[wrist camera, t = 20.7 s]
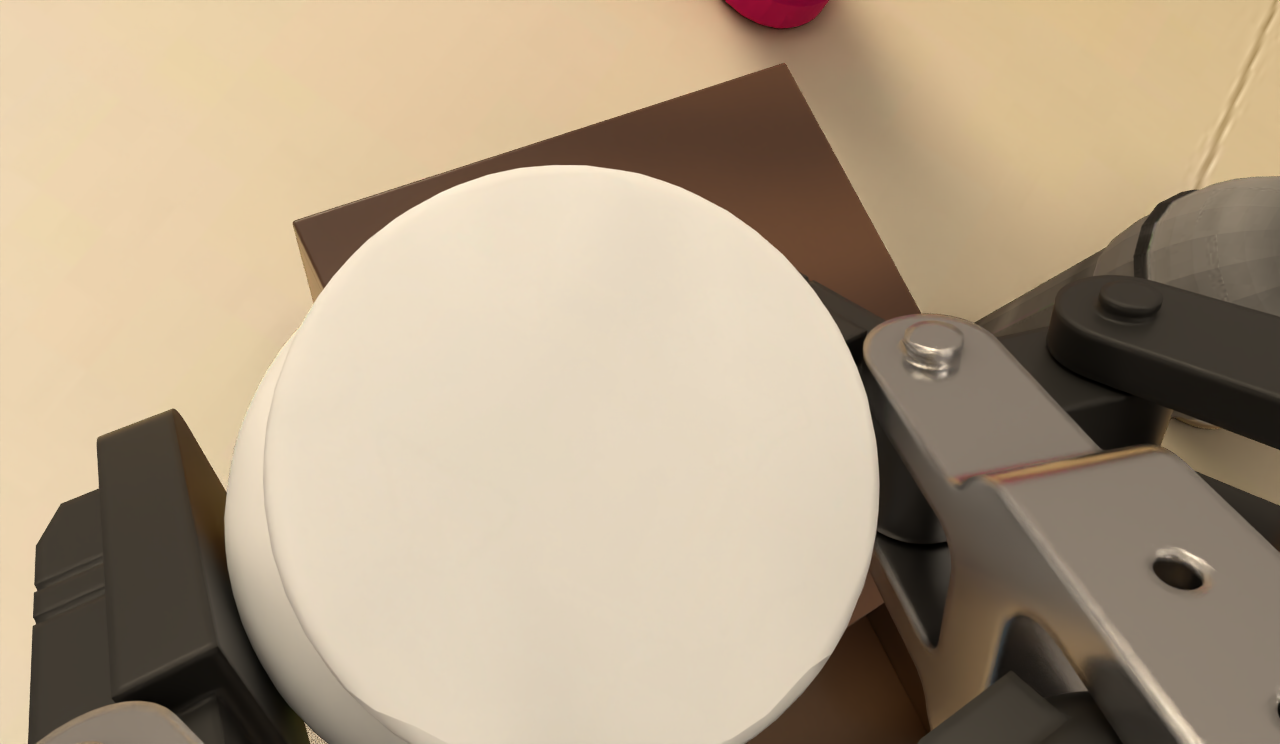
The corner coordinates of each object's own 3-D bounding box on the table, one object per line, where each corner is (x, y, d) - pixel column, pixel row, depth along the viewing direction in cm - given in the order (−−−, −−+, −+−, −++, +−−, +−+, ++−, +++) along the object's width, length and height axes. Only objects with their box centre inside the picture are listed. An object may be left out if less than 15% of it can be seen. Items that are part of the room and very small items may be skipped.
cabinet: (846, 527, 31) (1027, 507, 23) (509, 734, 26) (571, 815, 17) (677, 201, 33) (785, 61, 24) (321, 336, 27) (290, 220, 18)
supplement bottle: (234, 621, 13) (-153, 721, 4) (399, 332, 15) (411, -76, 5) (542, 750, 14) (844, 1091, 4) (661, 461, 15) (1046, 294, 6)
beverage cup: (1065, 443, 36) (1804, 298, 17) (937, 491, 33) (1640, 382, 15) (1004, 290, 37) (1638, -3, 18) (875, 325, 34) (1458, 27, 16)
